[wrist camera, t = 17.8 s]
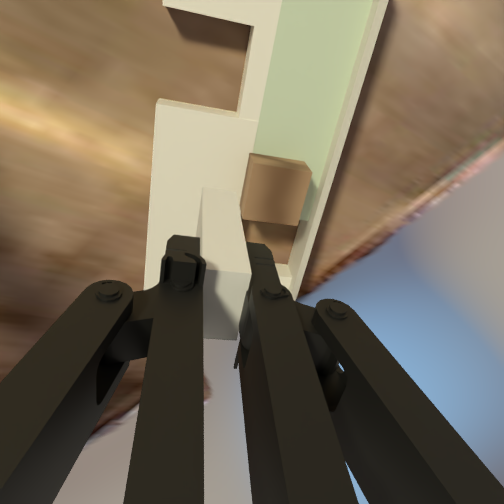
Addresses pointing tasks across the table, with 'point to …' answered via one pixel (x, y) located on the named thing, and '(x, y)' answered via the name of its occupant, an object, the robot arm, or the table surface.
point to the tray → (265, 115)
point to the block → (274, 189)
